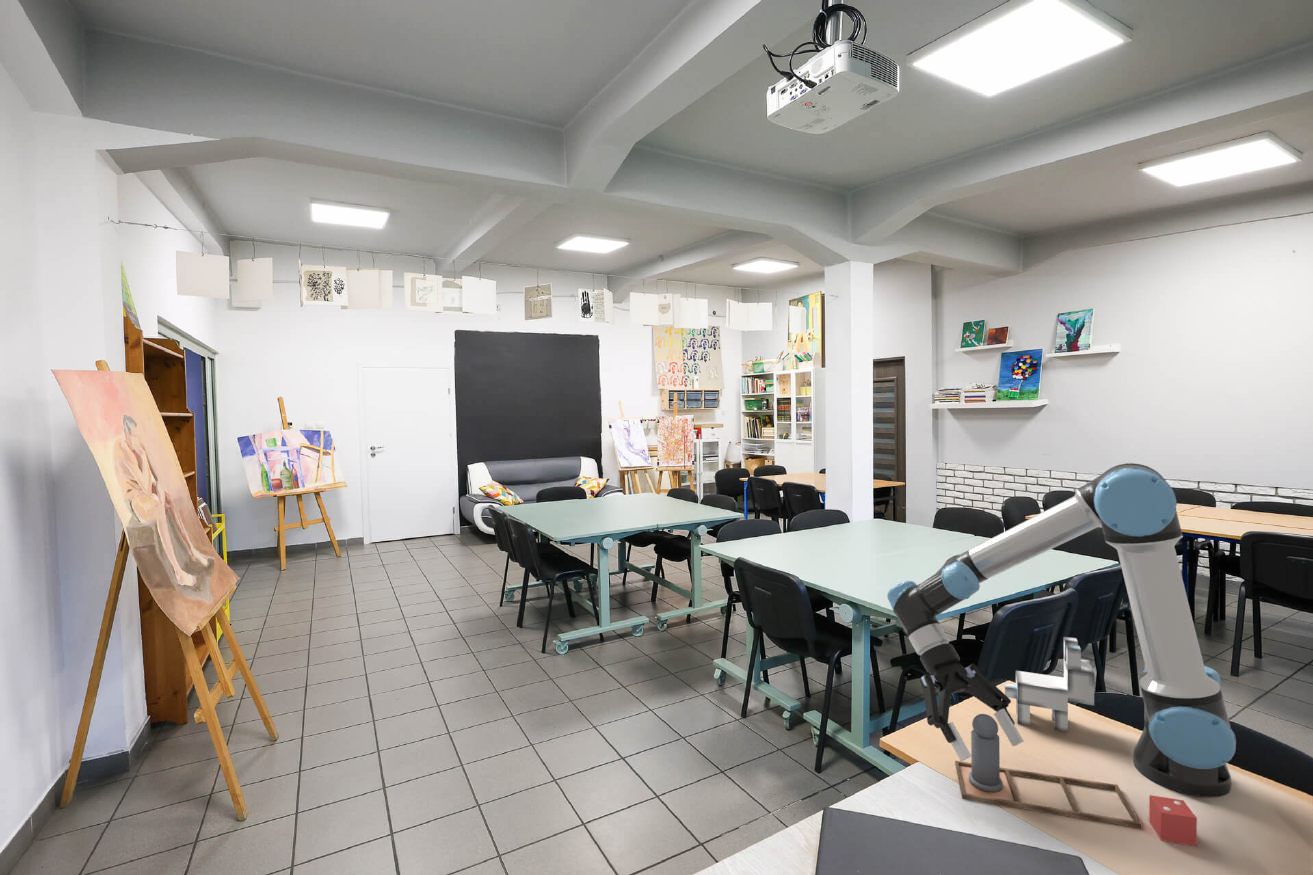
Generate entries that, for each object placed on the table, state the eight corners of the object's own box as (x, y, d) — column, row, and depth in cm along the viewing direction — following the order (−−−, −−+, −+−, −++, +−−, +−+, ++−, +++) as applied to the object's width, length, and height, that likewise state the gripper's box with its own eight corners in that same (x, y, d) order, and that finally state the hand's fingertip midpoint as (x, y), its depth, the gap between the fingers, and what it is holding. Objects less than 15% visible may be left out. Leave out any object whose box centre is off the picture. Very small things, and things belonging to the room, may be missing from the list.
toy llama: (1004, 707, 155) (1004, 629, 154) (1088, 722, 147) (1088, 639, 146) (1005, 721, 148) (1005, 640, 147) (1094, 737, 140) (1094, 651, 139)
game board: (1117, 788, 122) (1117, 784, 122) (1141, 828, 111) (1141, 823, 110) (955, 764, 132) (955, 760, 132) (962, 798, 120) (962, 794, 120)
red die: (1183, 826, 110) (1183, 799, 110) (1196, 846, 106) (1196, 817, 106) (1149, 821, 112) (1149, 794, 112) (1160, 839, 107) (1161, 811, 107)
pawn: (999, 777, 126) (999, 710, 125) (1005, 794, 121) (1004, 724, 120) (967, 772, 128) (966, 706, 127) (971, 789, 123) (970, 720, 122)
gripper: (969, 648, 142) (1027, 743, 129) (880, 666, 134) (932, 770, 121) (988, 633, 137) (1051, 731, 124) (896, 651, 129) (953, 758, 116)
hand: (992, 751), depth 122 cm, fingers open, 13 cm apart
